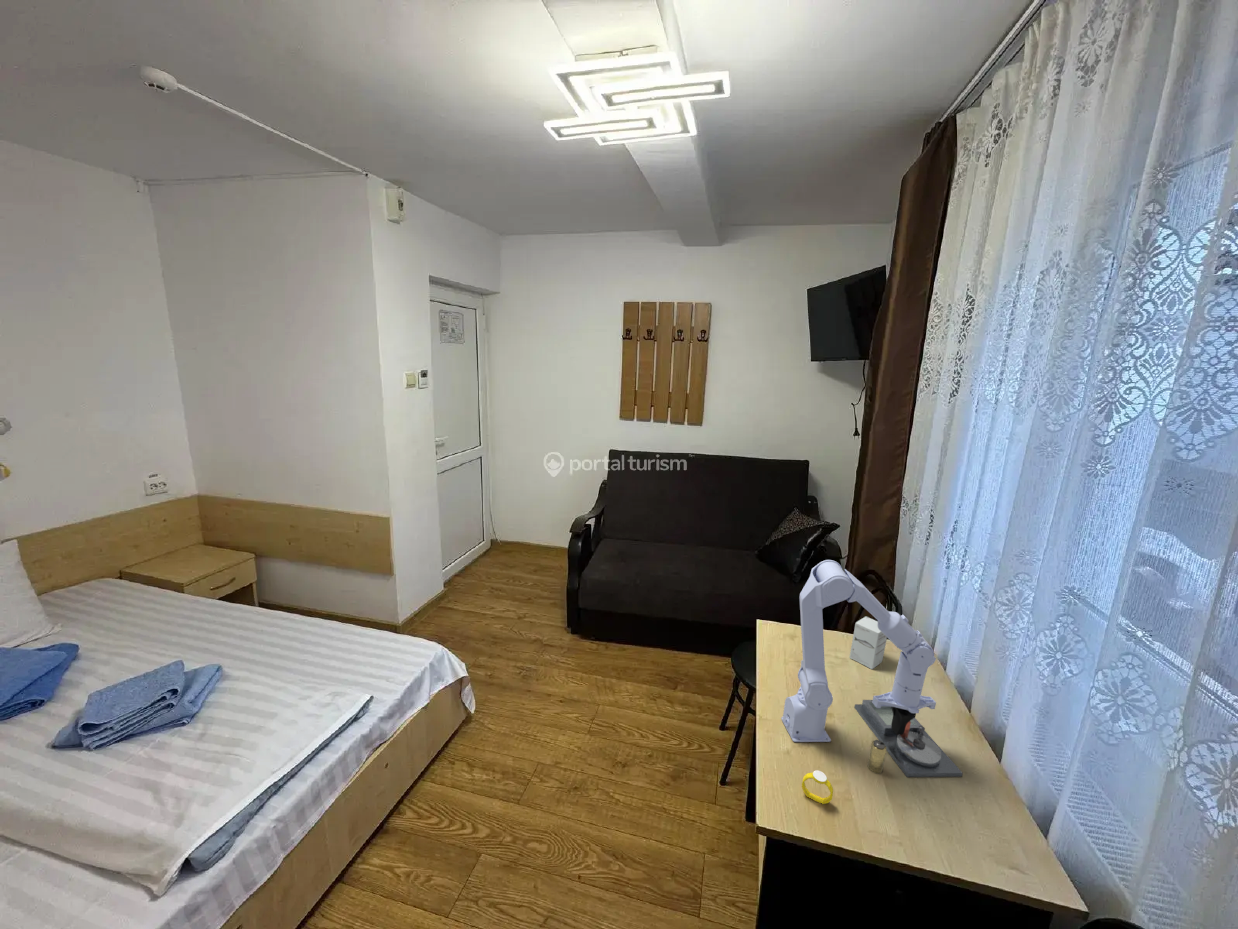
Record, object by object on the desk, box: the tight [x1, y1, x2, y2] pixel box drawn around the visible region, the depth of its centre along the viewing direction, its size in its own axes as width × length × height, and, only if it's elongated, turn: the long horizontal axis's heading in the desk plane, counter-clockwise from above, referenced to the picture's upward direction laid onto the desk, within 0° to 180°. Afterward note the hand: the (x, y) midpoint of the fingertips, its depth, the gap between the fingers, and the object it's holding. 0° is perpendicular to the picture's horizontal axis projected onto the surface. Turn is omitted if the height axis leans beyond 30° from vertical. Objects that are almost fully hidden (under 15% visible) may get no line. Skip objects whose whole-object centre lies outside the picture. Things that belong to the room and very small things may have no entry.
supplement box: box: [849, 616, 888, 670], centre depth 148 cm, size 7×7×13 cm
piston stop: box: [867, 739, 887, 775], centre depth 108 cm, size 3×3×7 cm
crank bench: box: [854, 699, 963, 778], centre depth 118 cm, size 13×22×4 cm, turn 3°
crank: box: [896, 721, 941, 767], centre depth 112 cm, size 9×9×6 cm
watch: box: [801, 769, 834, 805], centre depth 100 cm, size 6×3×6 cm, turn 60°
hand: (897, 731), depth 116 cm, fingers closed, pressing on crank
